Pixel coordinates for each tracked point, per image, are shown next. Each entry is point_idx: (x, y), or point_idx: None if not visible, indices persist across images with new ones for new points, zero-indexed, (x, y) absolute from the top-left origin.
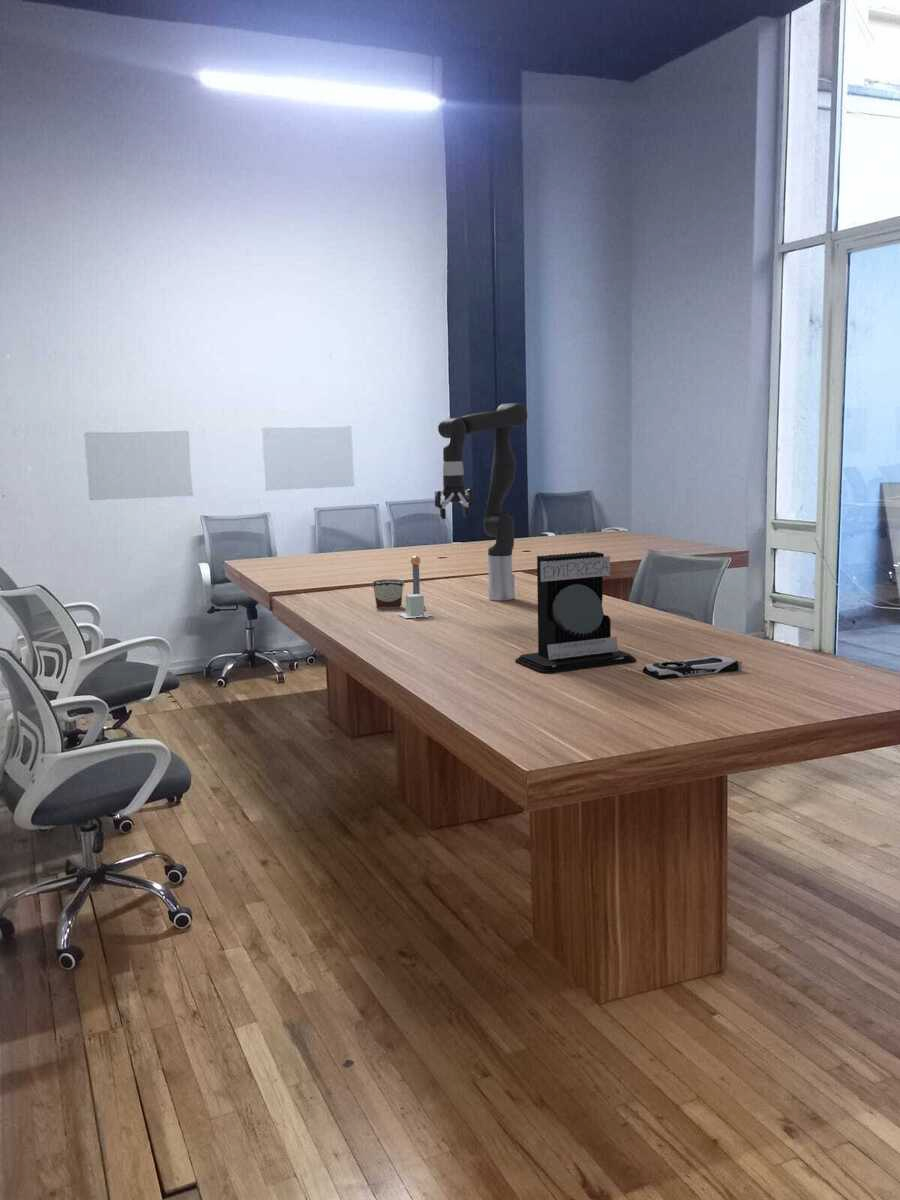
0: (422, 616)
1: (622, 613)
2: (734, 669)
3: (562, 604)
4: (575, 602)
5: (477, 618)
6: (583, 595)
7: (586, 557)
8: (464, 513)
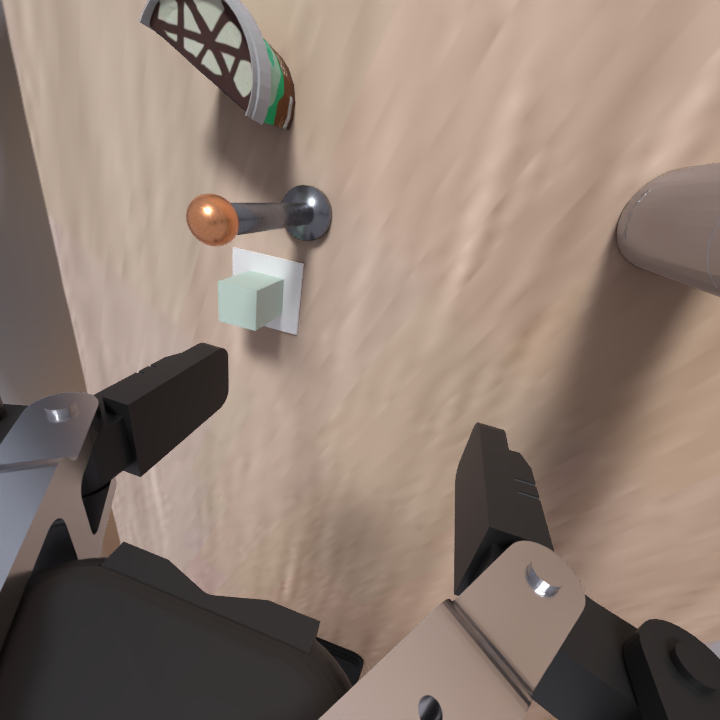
0: (270, 327)
1: (647, 600)
2: None
3: None
4: None
5: (366, 420)
6: None
7: None
8: (464, 492)
